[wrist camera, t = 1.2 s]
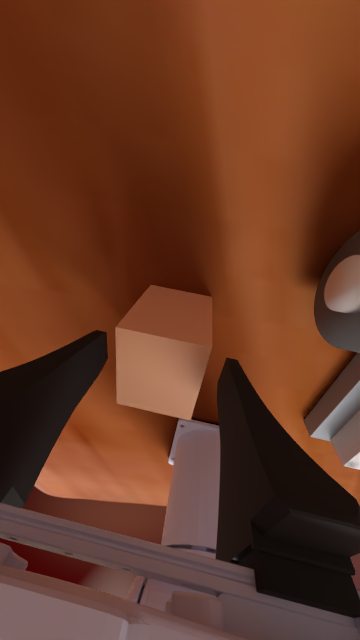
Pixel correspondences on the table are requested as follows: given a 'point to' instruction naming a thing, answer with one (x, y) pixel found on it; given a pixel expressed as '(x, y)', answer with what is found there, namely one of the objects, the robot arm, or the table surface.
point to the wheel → (340, 298)
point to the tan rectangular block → (164, 351)
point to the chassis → (340, 415)
